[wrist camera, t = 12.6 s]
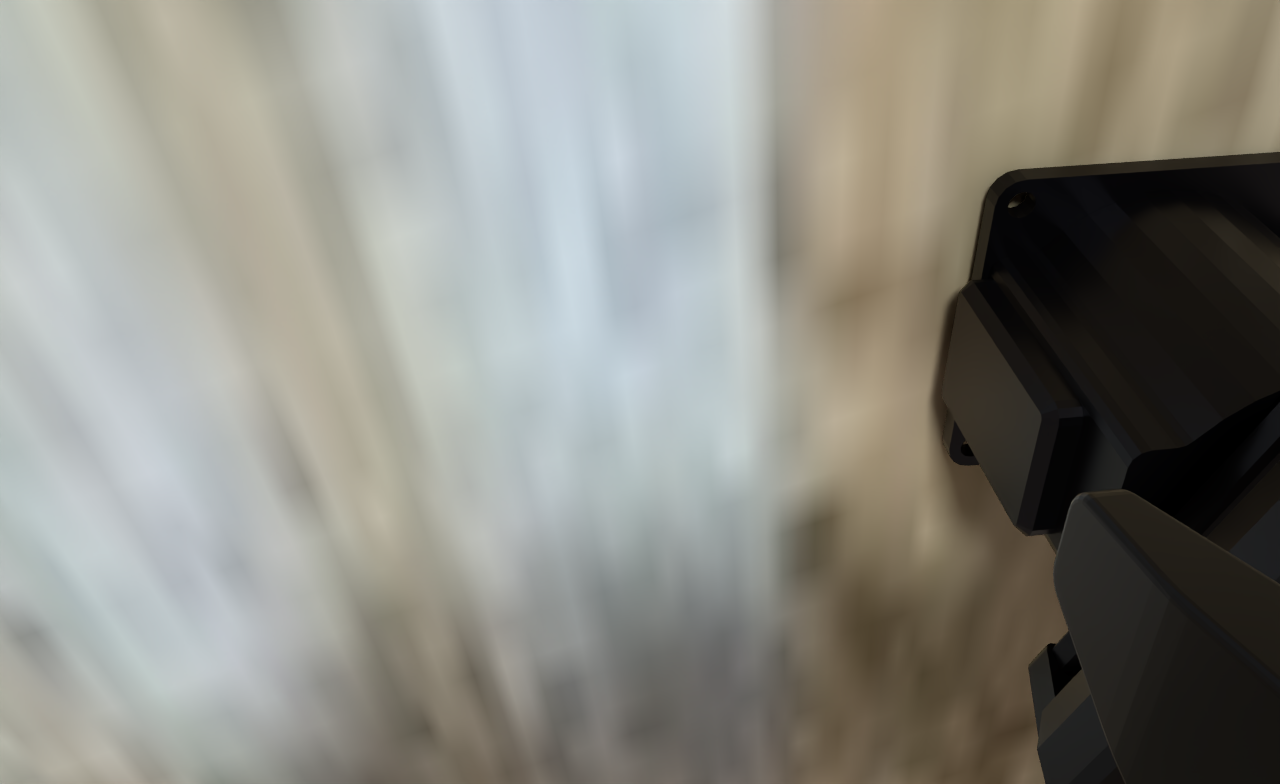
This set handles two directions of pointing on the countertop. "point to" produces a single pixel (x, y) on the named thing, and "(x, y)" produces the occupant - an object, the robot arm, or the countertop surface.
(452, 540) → the countertop surface
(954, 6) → the countertop surface
